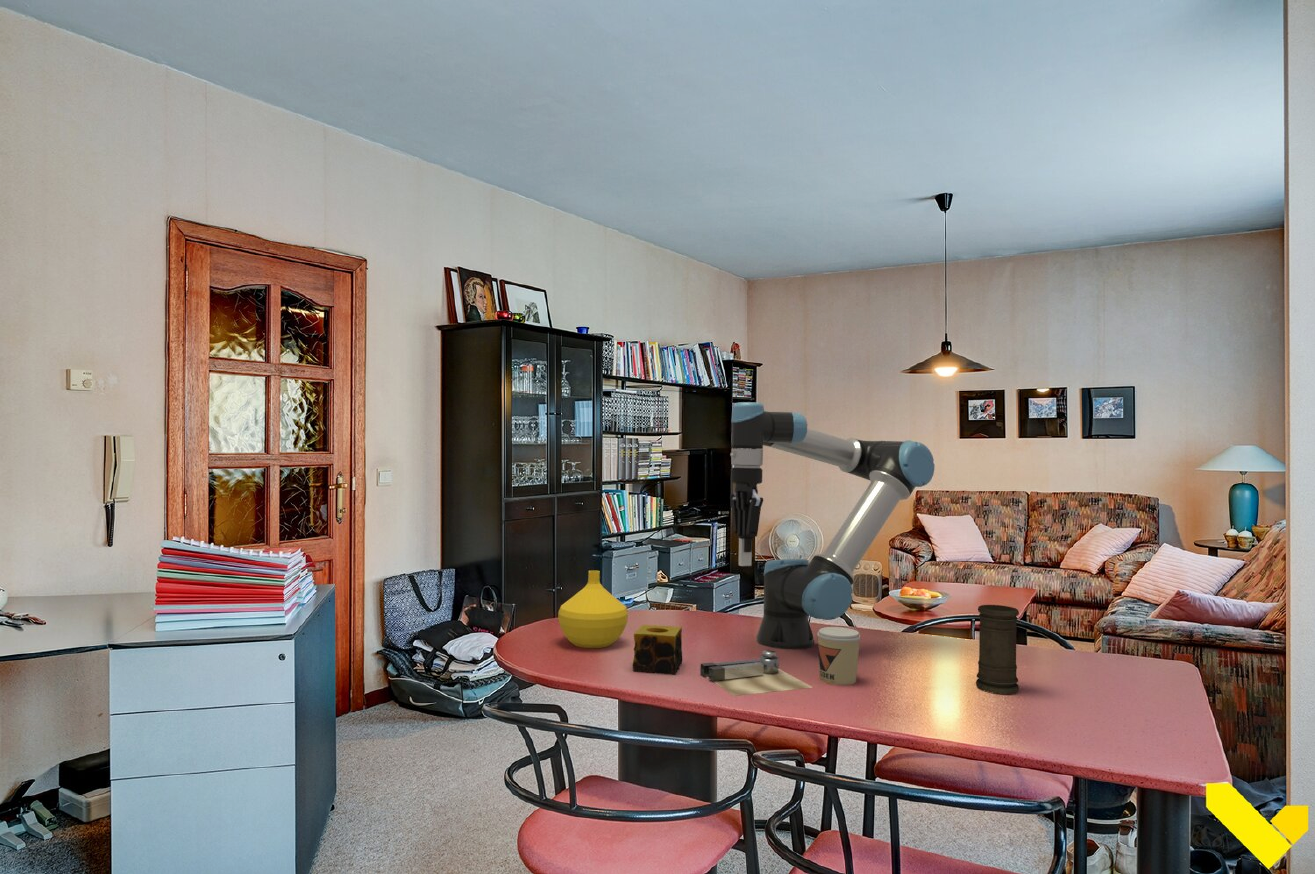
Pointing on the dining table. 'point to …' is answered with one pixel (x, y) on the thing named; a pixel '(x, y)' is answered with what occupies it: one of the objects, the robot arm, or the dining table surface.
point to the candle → (657, 649)
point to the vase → (593, 616)
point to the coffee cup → (838, 655)
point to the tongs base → (769, 663)
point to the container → (997, 649)
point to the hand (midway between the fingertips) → (744, 565)
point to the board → (761, 684)
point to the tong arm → (739, 669)
